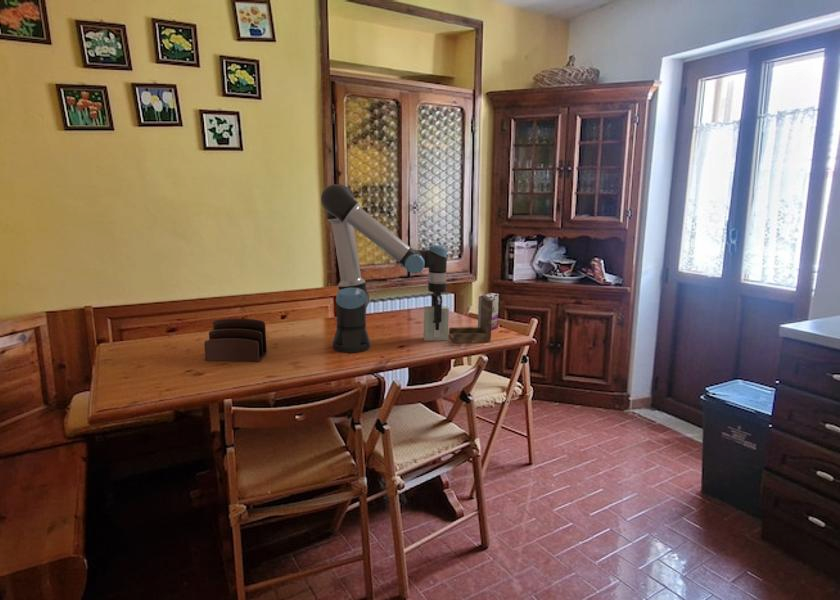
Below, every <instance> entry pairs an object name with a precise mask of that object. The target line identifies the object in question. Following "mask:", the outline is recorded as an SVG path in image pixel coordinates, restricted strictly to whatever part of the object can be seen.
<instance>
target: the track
mask: <svg viewBox="0 0 840 600" xmlns="http://www.w3.org/2000/svg"><path fill="white" fill-rule="evenodd" d="M481 296H482V295H481ZM492 305H493V301H492V300H491V299H490V298H489V297H487V296H482V299H481V320H480V327H478V326H475V327H473V326H471V327H469V326H467V327H466V326H464V327H463V326H462V327H459V326H458V327H457V326H456V327H455V326H454V327H448V337H450V339H451V340H452V342H453V343H473V342H472V341H491V340H492V330H491V324H492ZM491 342H492V341H491Z"/></svg>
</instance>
